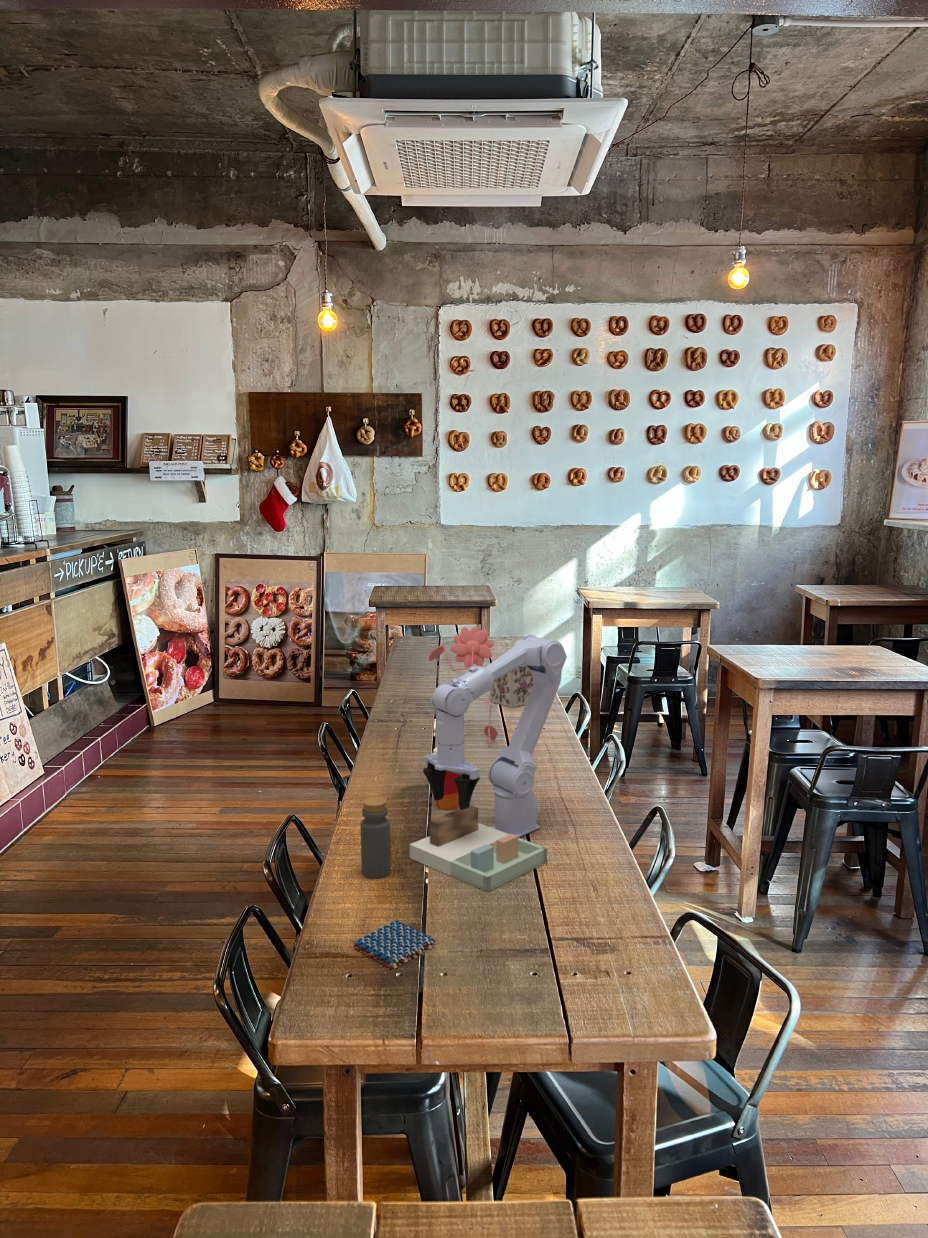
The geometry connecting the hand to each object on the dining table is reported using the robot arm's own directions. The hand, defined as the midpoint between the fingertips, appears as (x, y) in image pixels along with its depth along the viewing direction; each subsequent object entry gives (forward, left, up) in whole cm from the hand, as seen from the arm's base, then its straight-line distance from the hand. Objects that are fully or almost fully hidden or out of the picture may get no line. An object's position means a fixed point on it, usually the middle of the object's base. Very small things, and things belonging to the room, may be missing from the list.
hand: (451, 803), depth 184 cm
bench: (+1, +3, -10) cm, 10 cm away
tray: (+1, +14, -10) cm, 17 cm away
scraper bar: (0, +1, -7) cm, 7 cm away
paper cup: (-16, -18, -10) cm, 26 cm away
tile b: (+4, +12, -7) cm, 15 cm away
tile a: (-3, +12, -7) cm, 14 cm away
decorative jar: (-100, -71, -10) cm, 123 cm away
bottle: (+19, -3, -10) cm, 21 cm away
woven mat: (+35, +21, -11) cm, 42 cm away
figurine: (-58, -50, -10) cm, 78 cm away
